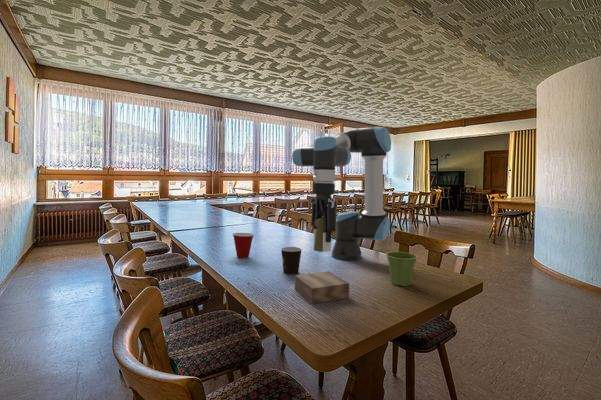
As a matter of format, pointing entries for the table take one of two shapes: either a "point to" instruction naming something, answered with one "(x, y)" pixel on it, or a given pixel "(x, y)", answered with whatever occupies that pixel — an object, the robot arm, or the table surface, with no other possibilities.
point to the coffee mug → (291, 259)
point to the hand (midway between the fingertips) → (322, 248)
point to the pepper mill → (319, 235)
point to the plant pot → (401, 267)
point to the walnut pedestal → (321, 287)
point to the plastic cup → (243, 244)
